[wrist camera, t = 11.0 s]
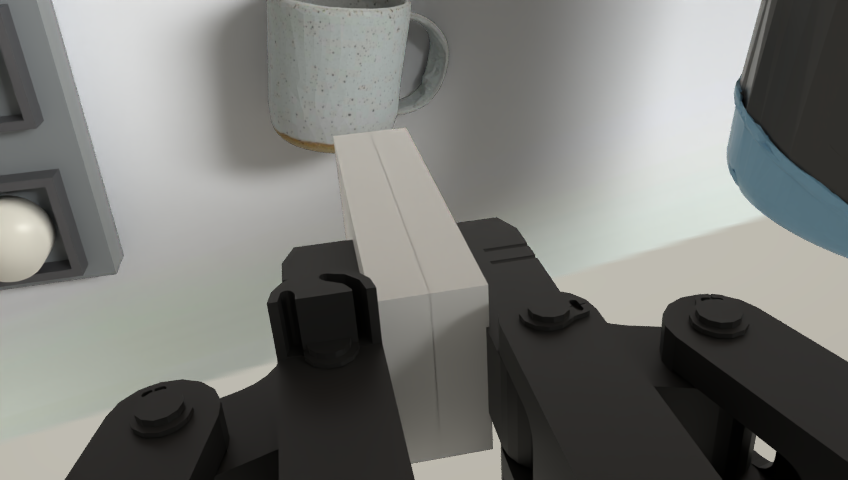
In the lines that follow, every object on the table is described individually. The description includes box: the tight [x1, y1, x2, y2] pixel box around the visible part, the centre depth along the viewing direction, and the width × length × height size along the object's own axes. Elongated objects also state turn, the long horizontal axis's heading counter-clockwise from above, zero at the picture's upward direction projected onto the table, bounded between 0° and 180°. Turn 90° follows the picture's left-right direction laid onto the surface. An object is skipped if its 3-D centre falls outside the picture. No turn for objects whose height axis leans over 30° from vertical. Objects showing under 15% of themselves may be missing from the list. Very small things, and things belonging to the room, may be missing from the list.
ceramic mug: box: [267, 0, 449, 153], centre depth 41 cm, size 11×8×8 cm
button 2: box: [0, 195, 56, 282], centre depth 41 cm, size 4×4×2 cm
